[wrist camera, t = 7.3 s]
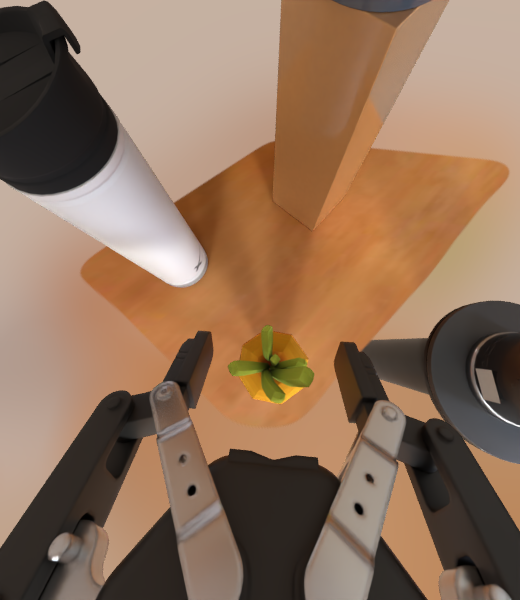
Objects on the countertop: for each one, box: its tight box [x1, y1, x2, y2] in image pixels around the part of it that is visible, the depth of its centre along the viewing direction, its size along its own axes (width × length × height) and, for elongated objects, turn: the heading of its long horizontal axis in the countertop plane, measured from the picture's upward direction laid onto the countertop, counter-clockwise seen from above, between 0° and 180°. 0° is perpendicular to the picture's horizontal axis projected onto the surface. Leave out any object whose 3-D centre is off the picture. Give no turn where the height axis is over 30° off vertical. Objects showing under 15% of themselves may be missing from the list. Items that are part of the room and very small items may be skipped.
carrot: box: [228, 325, 314, 404], centre depth 17 cm, size 5×5×15 cm
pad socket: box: [273, 0, 449, 231], centre depth 17 cm, size 8×8×23 cm
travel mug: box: [0, 1, 208, 287], centre depth 17 cm, size 6×7×20 cm
